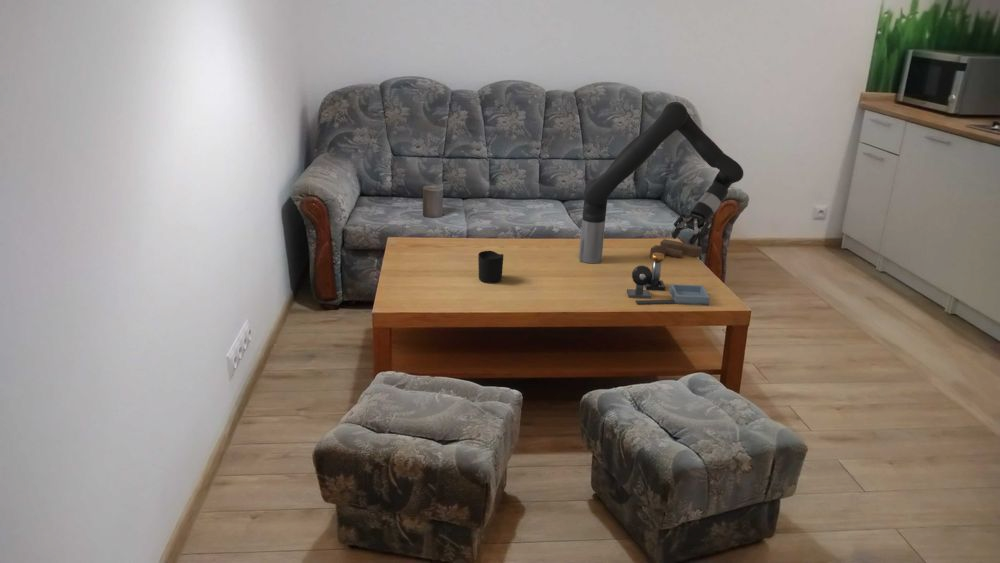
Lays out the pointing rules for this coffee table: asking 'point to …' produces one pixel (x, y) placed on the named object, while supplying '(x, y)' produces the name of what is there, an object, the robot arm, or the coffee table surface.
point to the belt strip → (654, 302)
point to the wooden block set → (676, 249)
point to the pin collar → (659, 288)
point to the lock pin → (656, 268)
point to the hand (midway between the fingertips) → (681, 240)
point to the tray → (689, 294)
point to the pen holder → (490, 266)
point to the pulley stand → (640, 282)
